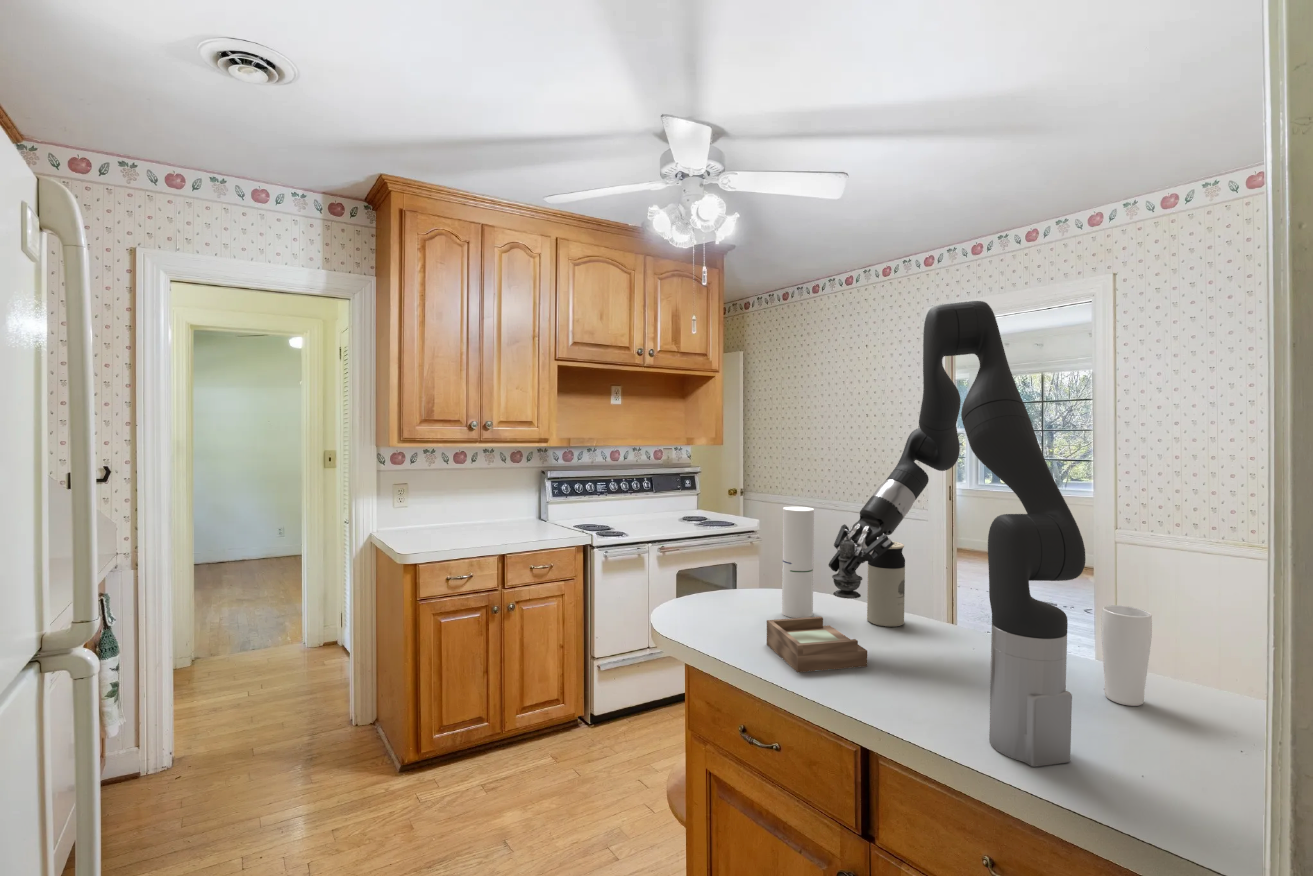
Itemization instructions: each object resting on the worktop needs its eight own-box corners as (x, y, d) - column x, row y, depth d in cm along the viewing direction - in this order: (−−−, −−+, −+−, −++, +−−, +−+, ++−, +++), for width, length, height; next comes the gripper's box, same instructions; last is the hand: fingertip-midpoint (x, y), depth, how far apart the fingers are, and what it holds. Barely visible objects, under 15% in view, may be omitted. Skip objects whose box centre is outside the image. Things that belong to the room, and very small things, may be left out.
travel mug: (859, 620, 149) (860, 542, 148) (880, 614, 154) (881, 538, 153) (890, 630, 143) (891, 548, 142) (911, 623, 147) (912, 544, 147)
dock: (867, 666, 122) (867, 640, 122) (797, 672, 119) (798, 645, 119) (829, 639, 137) (829, 615, 136) (766, 644, 134) (766, 620, 133)
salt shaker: (863, 599, 127) (864, 538, 126) (832, 598, 128) (833, 537, 127) (860, 591, 132) (861, 533, 132) (830, 590, 134) (831, 532, 133)
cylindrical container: (794, 607, 159) (795, 505, 158) (819, 614, 154) (820, 509, 153) (775, 612, 155) (776, 508, 154) (799, 620, 149) (801, 511, 148)
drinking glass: (1146, 697, 109) (1149, 608, 108) (1152, 713, 103) (1155, 619, 103) (1097, 688, 112) (1100, 602, 112) (1100, 703, 107) (1103, 612, 106)
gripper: (854, 490, 139) (806, 552, 135) (902, 498, 126) (851, 566, 122) (874, 514, 141) (827, 575, 137) (923, 524, 128) (873, 592, 124)
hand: (838, 570), depth 129 cm, fingers closed on salt shaker, 3 cm apart
